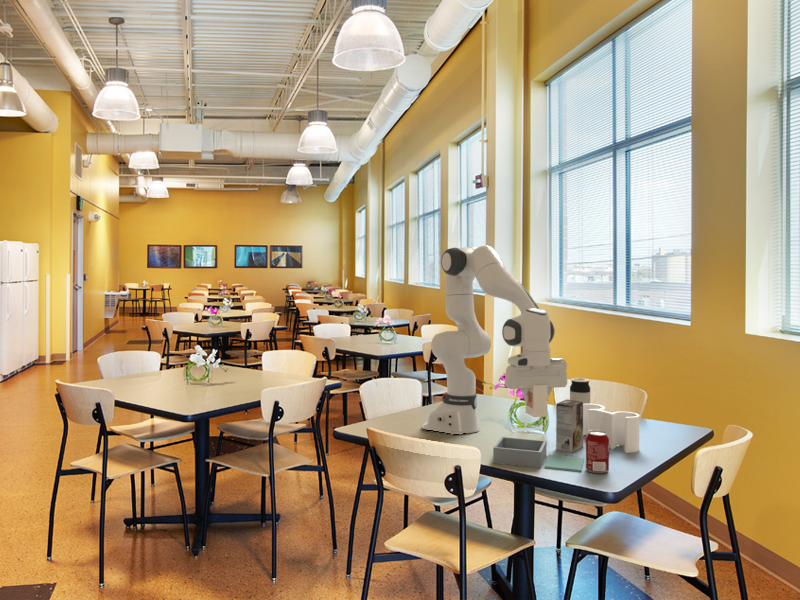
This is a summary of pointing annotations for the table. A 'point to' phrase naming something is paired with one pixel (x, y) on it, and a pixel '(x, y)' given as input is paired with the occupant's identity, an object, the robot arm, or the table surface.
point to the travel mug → (580, 390)
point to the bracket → (613, 426)
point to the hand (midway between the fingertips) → (536, 401)
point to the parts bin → (520, 452)
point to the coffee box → (569, 425)
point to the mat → (564, 463)
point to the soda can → (597, 452)
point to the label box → (537, 401)
